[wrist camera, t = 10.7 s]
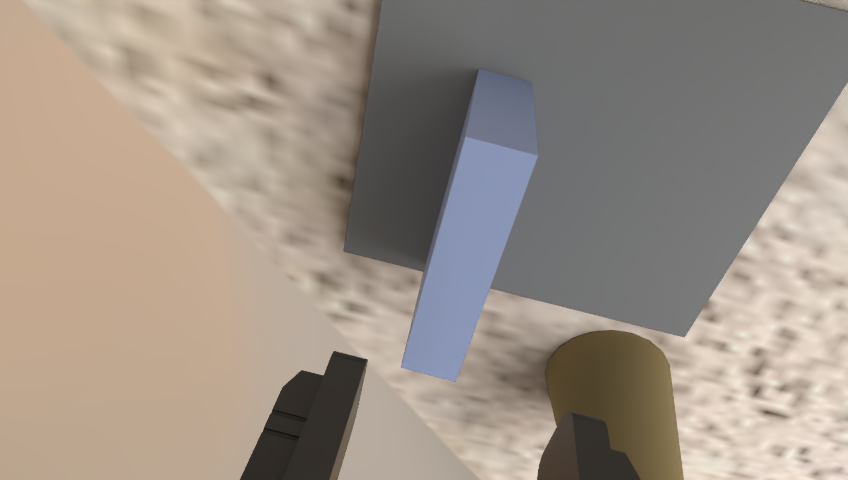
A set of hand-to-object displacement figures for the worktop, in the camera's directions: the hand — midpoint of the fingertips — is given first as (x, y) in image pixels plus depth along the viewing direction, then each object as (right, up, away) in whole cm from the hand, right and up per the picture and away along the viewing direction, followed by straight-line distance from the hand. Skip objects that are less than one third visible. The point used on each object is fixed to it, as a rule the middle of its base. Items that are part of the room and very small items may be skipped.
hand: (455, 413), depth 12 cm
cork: (+9, -3, +17) cm, 19 cm away
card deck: (+1, +6, +11) cm, 13 cm away
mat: (+5, +7, +11) cm, 14 cm away
